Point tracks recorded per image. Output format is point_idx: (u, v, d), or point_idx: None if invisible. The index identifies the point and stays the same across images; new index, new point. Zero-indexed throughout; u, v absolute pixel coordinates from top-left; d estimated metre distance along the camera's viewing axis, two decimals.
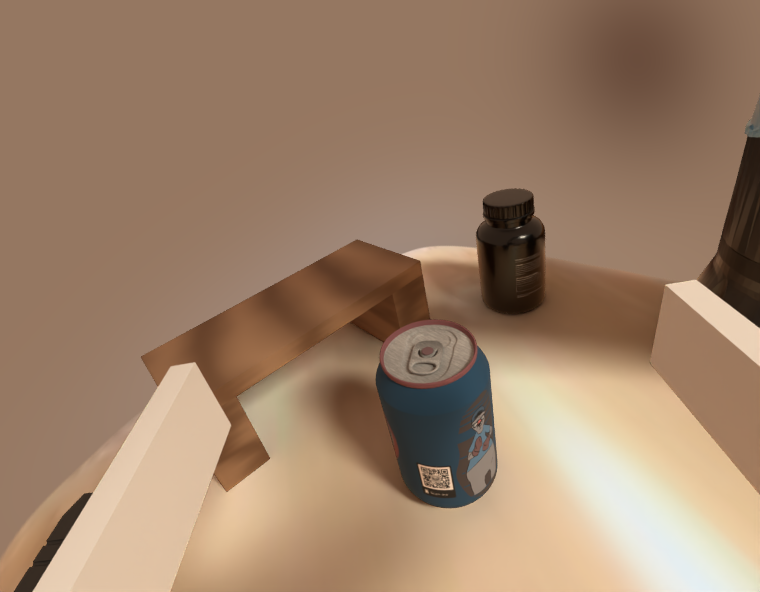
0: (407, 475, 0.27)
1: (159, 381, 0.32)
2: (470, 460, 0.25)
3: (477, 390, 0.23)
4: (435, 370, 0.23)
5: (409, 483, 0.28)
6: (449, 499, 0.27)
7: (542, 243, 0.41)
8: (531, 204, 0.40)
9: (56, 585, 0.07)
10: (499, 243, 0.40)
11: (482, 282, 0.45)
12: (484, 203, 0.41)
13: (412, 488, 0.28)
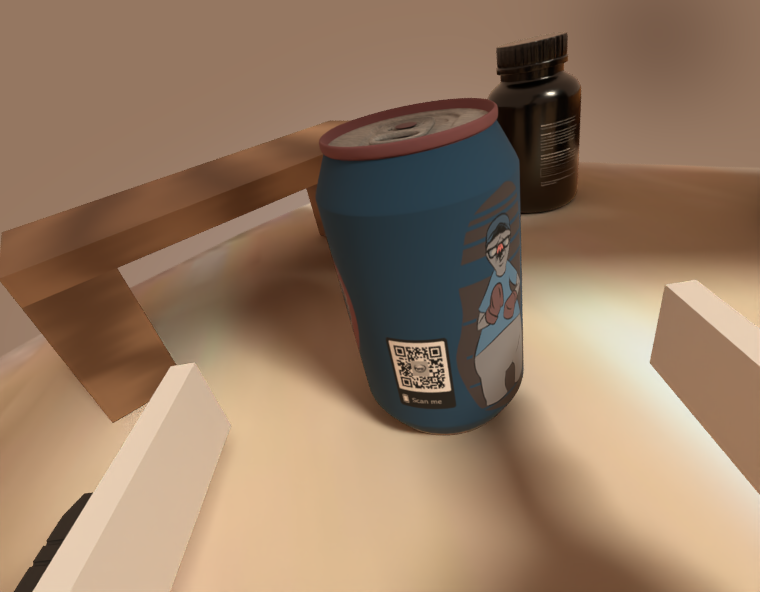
0: (374, 375, 0.16)
1: (6, 249, 0.21)
2: (482, 332, 0.14)
3: (499, 173, 0.12)
4: (417, 135, 0.12)
5: (378, 391, 0.17)
6: (443, 412, 0.16)
7: (578, 105, 0.30)
8: (564, 44, 0.29)
9: (56, 585, 0.07)
10: (519, 101, 0.29)
11: None
12: (499, 48, 0.30)
13: (383, 399, 0.17)
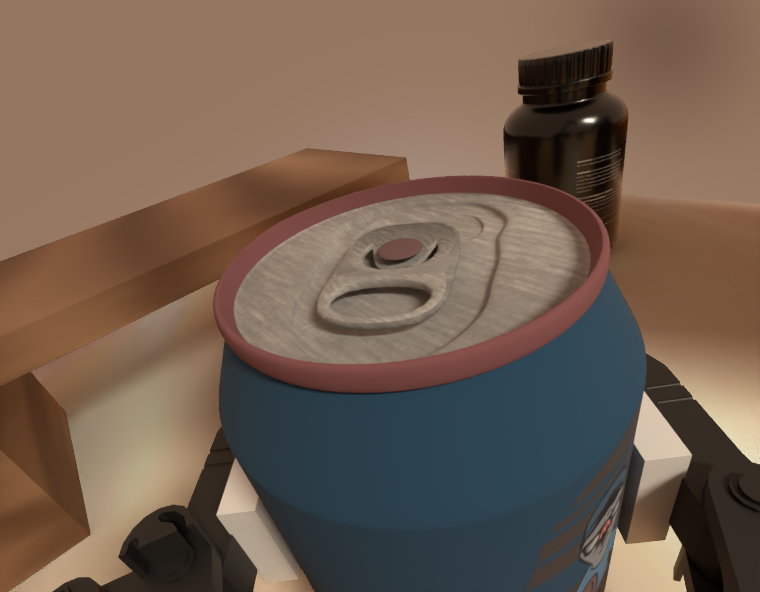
0: None
1: None
2: None
3: (624, 402, 0.05)
4: (428, 309, 0.05)
5: None
6: None
7: (624, 134, 0.23)
8: (610, 56, 0.22)
9: None
10: (549, 130, 0.22)
11: None
12: (522, 61, 0.23)
13: None
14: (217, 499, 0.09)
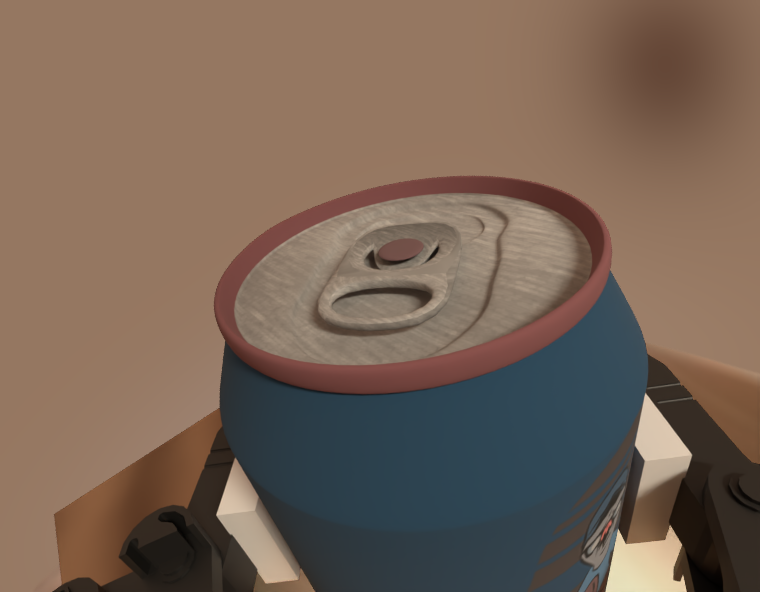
0: None
1: (67, 577, 0.21)
2: None
3: (625, 403, 0.05)
4: (429, 309, 0.05)
5: None
6: None
7: None
8: None
9: None
10: None
11: None
12: None
13: None
14: (217, 499, 0.09)
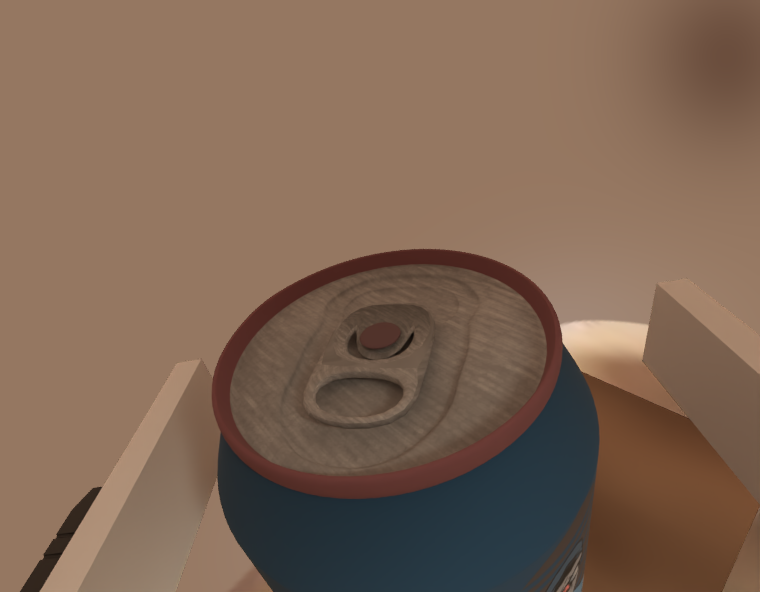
0: None
1: None
2: None
3: (572, 492, 0.06)
4: (399, 410, 0.06)
5: None
6: None
7: None
8: None
9: (68, 577, 0.07)
10: None
11: None
12: None
13: None
14: None
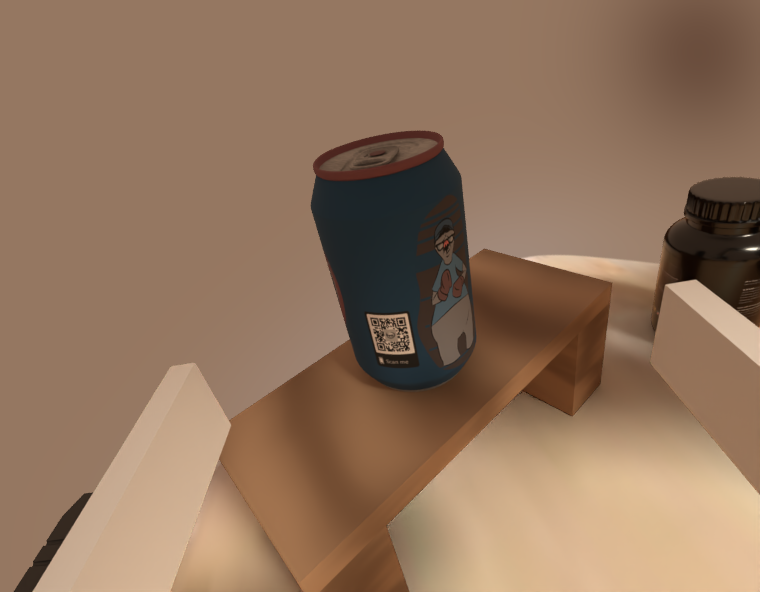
0: (357, 343, 0.21)
1: (248, 493, 0.19)
2: (436, 306, 0.19)
3: (442, 189, 0.17)
4: (383, 162, 0.17)
5: (361, 357, 0.22)
6: (410, 370, 0.20)
7: None
8: None
9: (56, 585, 0.07)
10: (724, 257, 0.27)
11: None
12: (698, 198, 0.28)
13: (365, 363, 0.22)
14: None
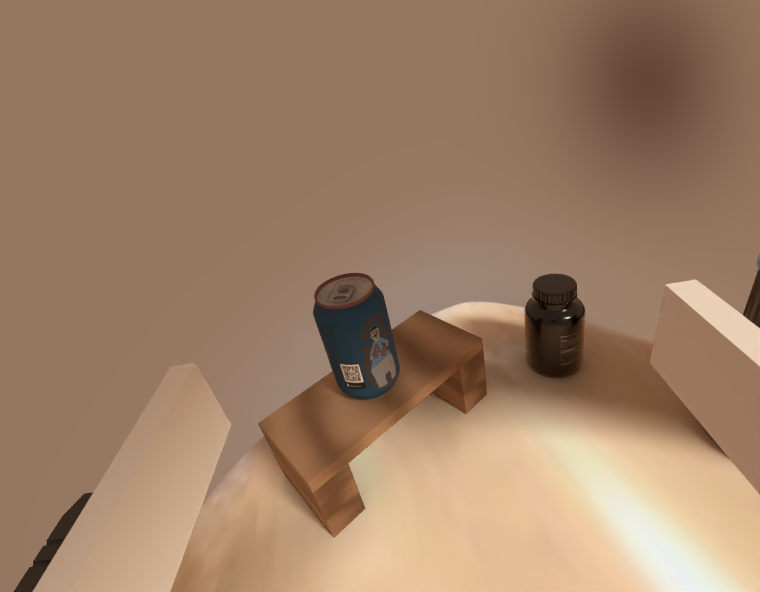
0: (336, 376, 0.42)
1: (283, 449, 0.40)
2: (372, 361, 0.39)
3: (371, 311, 0.37)
4: (345, 299, 0.37)
5: (338, 382, 0.42)
6: (362, 390, 0.41)
7: (583, 322, 0.49)
8: (575, 291, 0.47)
9: (56, 585, 0.07)
10: (547, 323, 0.48)
11: (528, 349, 0.53)
12: (534, 288, 0.49)
13: (340, 386, 0.42)
14: None
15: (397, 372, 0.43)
